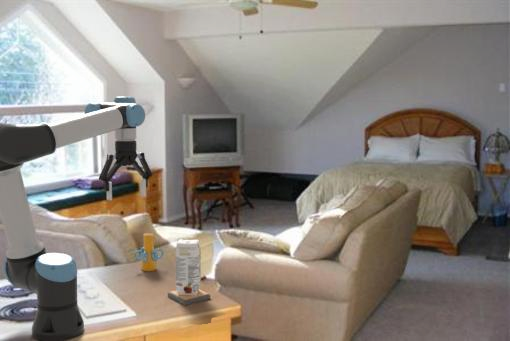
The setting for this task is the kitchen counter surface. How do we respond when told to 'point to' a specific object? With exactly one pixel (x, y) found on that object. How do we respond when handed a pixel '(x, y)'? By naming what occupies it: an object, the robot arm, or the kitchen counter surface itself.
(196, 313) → the kitchen counter surface
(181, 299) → the board
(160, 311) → the kitchen counter surface
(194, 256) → the juice carton
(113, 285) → the kitchen counter surface
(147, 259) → the yellow and blue piece
